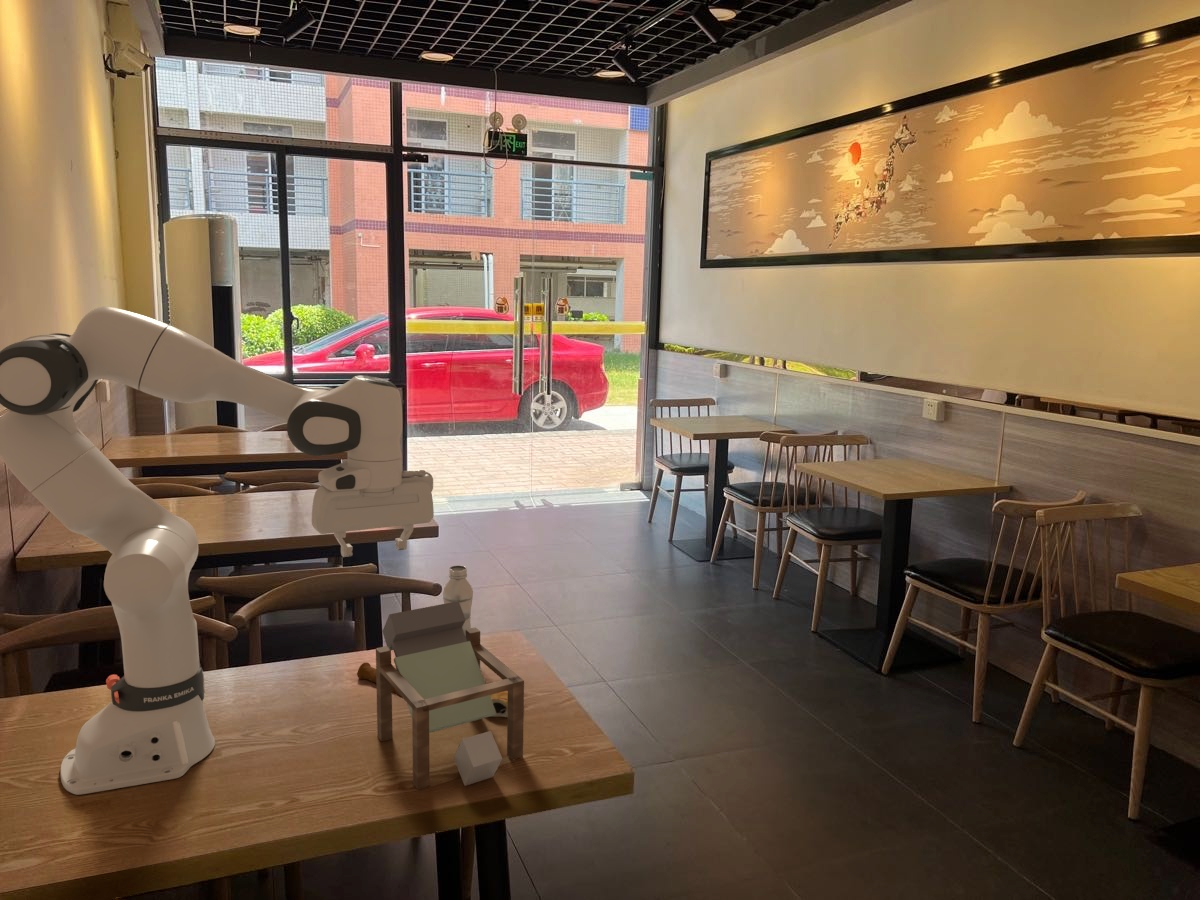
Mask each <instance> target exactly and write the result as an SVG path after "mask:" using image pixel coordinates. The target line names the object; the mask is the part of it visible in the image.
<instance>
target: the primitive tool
mask: <svg viewBox="0 0 1200 900" xmlns="http://www.w3.org/2000/svg"><path fill="white" fill-rule="evenodd" d="M358 667H359V668H358V670H357V672H356V676H357V678H358V679H359V680H369V681H370V682H373V683H375V684H376V667H375V668H374V667H372V666H371V664H370V663H369V662H363V663H361V664H360V665H359V666H358ZM392 693H395V694H397V695H398V696H400V697H402V696H401V695H400V694H399V693H398V692H397V691H396V689H395V688H394V687H393V686H392Z"/></svg>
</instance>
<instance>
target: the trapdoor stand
mask: <svg viewBox="0 0 1200 900" xmlns="http://www.w3.org/2000/svg"><path fill="white" fill-rule="evenodd" d="M466 639H467V642H468V641H470V643H471V645H472V648H473V651H474V654H475V656H476V659H477V662H478V664H479V667H480V668H481V662H482V663H483V664H484V665H485V666H487V668H488V669H490V670H491V671H492V672H493V673H494V674H495V675H497V676H498V677H499V678H500V680H497V681H492V682H489V683H486V684H484V685H480V686H476V687H472V688H468V689H464V690H460V691H456V692H452V693H448V694H444V695H440V696H436V697H432V698H428V699H423V698H422V697H421V696H420V694H419V693H418V692H417V691H416V690H415V689H414V688H413V687H412V686H411V685H410V684H409V683H408V681H407V680H406V679H405V678H404V677H403V676H402V675H401V674H400V673H399V672H398V671H397V669H396V666H394V665H393V664H392V650H390V649H389V648H388V647H387V645H386V646H380V647H376V648H375V669H376V683H375V684H376V724H377V725H376V727H377V728H376V729H377V732H376V734H377V737H378V740H380V742H385V741H389V740H392V739H393V691H392V686H393V687H394V688H395V689H396V691H397V692H398V693H399V694H400V695H401V696H400V695H399V696H400V697H401V698H403V700H404V701H405V702H406V704H407V703H408V704H409V705H410V707H411V708H412V717H411V721H412V725H411V726H412V728H411V729H412V732H411V733H412V784H413V785H414V787H415V788H416V789H417V791H418V790H420V789H421V790H422V789H424V788H428V787H430V785H431V784H430V781H431V780H430V778H431V777H430V772H431V771H430V769H431V768H430V764H431V763H430V762H431V761H430V733H429V711H430V710H434V709H438V708H442V707H445V706H449V705H453V704H457V703H461V702H465V701H469V700H472V699H476V698H480V697H484V696H488V695H492V694H495V693H499V692H503V691H507V690H508V712H507V717H506V718H507V719H506V720H507V723H506V724H507V725H506V727H507V731H506V733H507V734H506V736H507V737H506V738H507V739H506V742H507V743H506V756H508V758H510V760H512V761H515V760H518V758H519V759H521V757H522V758H524V719H525V716H524V714H525V713H524V712H525V711H524V710H525V709H524V707H525V706H524V704H525V680H524V679H523V678H522V677H521V676H520V675H518V674H517V673H515V671H513V670H512V669H511V668H510V667H509V666H507V665H506V664H505V663H504V662H502V661H501V660H500V659H499V658H498V657H496V656H495V655H494V654H493V653H492V652H490V650H488V649H487V648H485V647H484V645H482V644H481V631H480V629H478V627H476V626H475V627H471V628H470V629H466ZM408 704H407V705H408Z"/></svg>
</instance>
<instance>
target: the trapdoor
mask: <svg viewBox="0 0 1200 900" xmlns="http://www.w3.org/2000/svg"><path fill="white" fill-rule="evenodd" d="M465 621H466V619H465V617H464V614H463V611H462V609H461V606H460V603H459V601H457V602H451V603H446V604H444V603H441V604H436V605H430V606H425V607H420V608H416V609H414V608H413V609H411V610H405V611H399V612H394V613H390V614H388V617H387V619H386V622H385V624H384V626H383V629H382V634H383V638H384V642H385V643H386V646H387V647H388V648H389V649H390V650H391V651H393V652H394V656H395V657H394V659H393V661H394V662H393V663H394V665H395V666H394V667H395V668H396V670H397V671H398V672H399V673H400V674H401V675H402V676H403V677H404V678H405V679H406V680H407V681H408V683H409V684H410V685H411V686H412V687H413V688H414V689H415V690H416V691H417V692H418V693H419V694H420V696H421V697H422V698H423V699H428V698H432V697H436V696H440V695H444V694H448V693H452V692H456V691H460V690H464V689H468V688H472V687H476V686H480V685H484V684H487V683H486V681H485V679H484V676H483V673H482V671H481V666H480V667H479V664H478V662H477V659H476V656H475V654H474V651H473V648H472V645H471V643H470V641H468V642H467V639H466V637H465V634H464V631H463V628H462V626H463V624H464V623H465ZM406 704H407V706H408V707H407V708H408V710H409V713H410V717H411V718H412V708H411V707H410V705H409V704H408V703H407V702H406ZM495 714H496V711H495V708H494V705H493V702H492V700H491V697H490V695H488V696H484V697H480V698H476V699H472V700H469V701H465V702H461V703H457V704H453V705H449V706H445V707H442V708H438V709H434V710H430V711H429V734H430V733H435V732H438V731H441V730H445V729H449V728H453V727H457V726H460V725H463V724H467V723H470V722H471V723H472V722H475V721H478V720H482V719H485V718H488V717H489V718H490V717H491V716H493V715H495Z"/></svg>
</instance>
